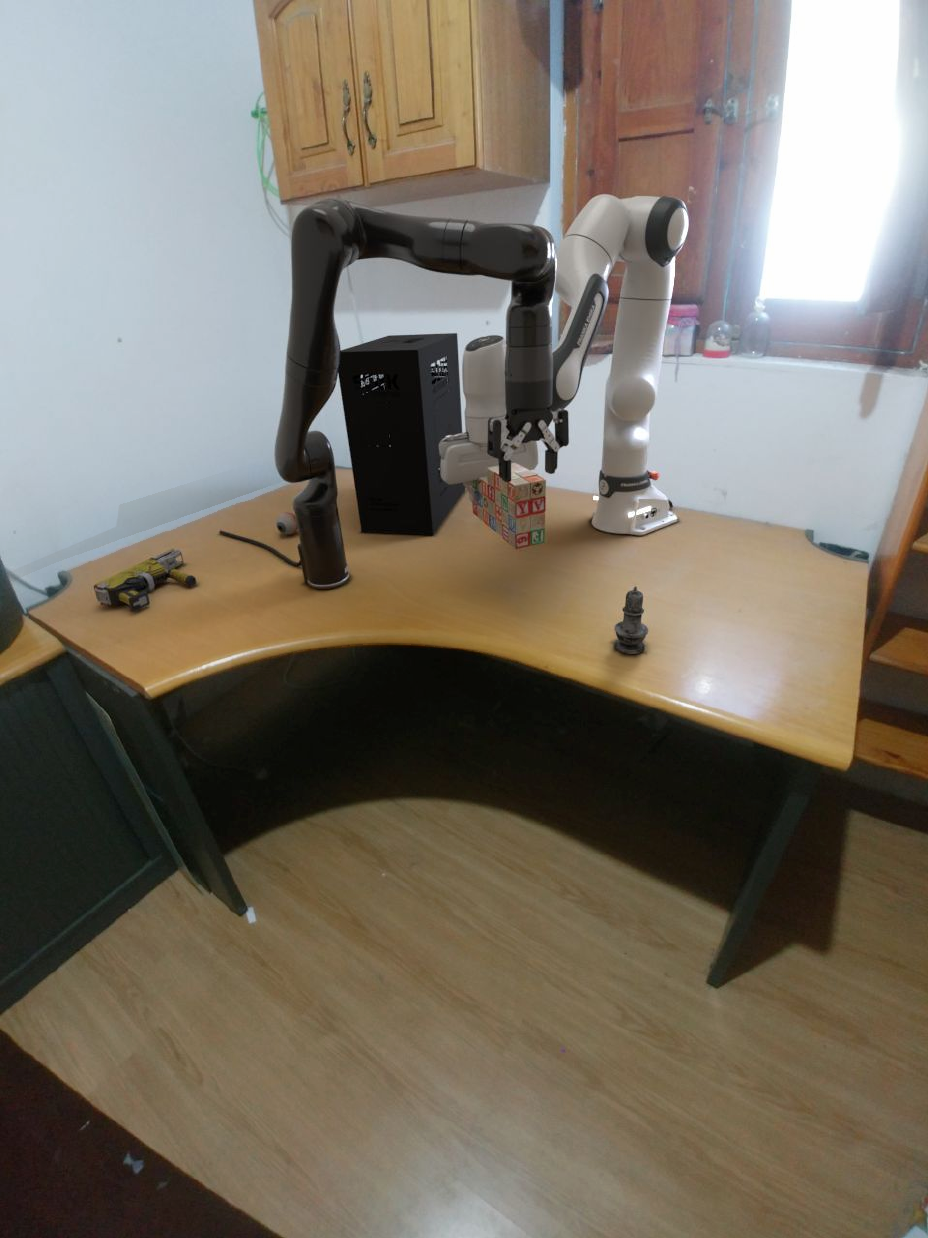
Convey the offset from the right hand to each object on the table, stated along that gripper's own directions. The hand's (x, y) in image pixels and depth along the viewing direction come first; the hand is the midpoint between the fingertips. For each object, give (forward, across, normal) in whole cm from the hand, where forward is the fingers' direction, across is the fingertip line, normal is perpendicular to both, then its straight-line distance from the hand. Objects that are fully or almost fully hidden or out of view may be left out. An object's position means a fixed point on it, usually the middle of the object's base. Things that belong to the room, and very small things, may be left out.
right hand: (491, 497), depth 124 cm
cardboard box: (+19, -1, +54) cm, 57 cm away
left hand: (-10, -1, -19) cm, 22 cm away
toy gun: (+18, -70, +33) cm, 79 cm away
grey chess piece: (+20, +11, -35) cm, 42 cm away
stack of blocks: (+4, 0, -7) cm, 8 cm away
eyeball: (+19, -38, +52) cm, 67 cm away
